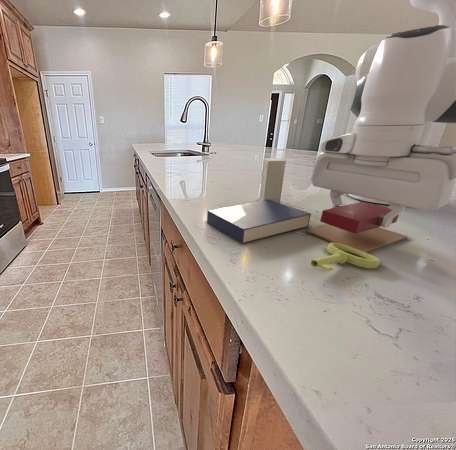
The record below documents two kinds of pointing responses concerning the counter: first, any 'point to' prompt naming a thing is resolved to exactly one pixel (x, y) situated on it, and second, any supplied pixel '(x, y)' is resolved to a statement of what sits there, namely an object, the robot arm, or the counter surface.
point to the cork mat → (358, 237)
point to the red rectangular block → (355, 216)
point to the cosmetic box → (272, 179)
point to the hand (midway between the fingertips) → (358, 218)
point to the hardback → (257, 220)
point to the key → (345, 257)
